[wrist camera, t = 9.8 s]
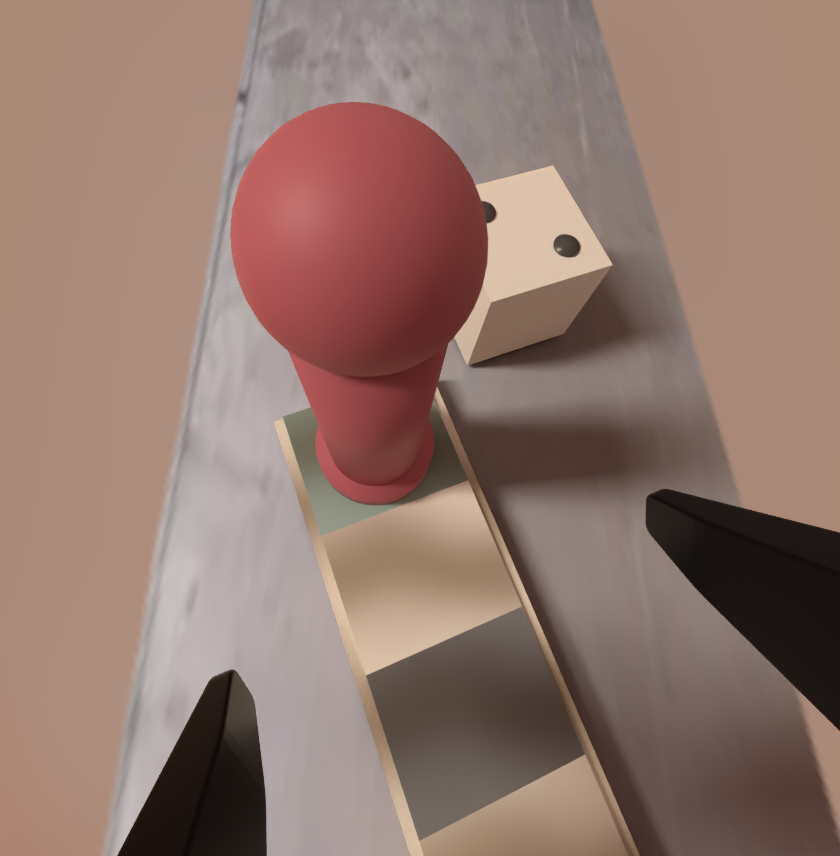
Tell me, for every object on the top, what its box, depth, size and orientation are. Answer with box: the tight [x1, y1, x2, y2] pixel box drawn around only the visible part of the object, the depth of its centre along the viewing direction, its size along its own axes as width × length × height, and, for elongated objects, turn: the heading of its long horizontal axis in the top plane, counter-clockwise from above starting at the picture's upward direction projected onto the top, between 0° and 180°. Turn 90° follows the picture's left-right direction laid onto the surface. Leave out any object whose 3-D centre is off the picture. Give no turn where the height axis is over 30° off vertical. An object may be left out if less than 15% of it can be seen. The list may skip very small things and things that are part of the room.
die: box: [454, 166, 612, 366], centre depth 20 cm, size 5×5×5 cm
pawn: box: [230, 102, 488, 505], centre depth 12 cm, size 4×4×14 cm
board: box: [274, 388, 640, 856], centre depth 16 cm, size 25×7×1 cm, turn 21°
